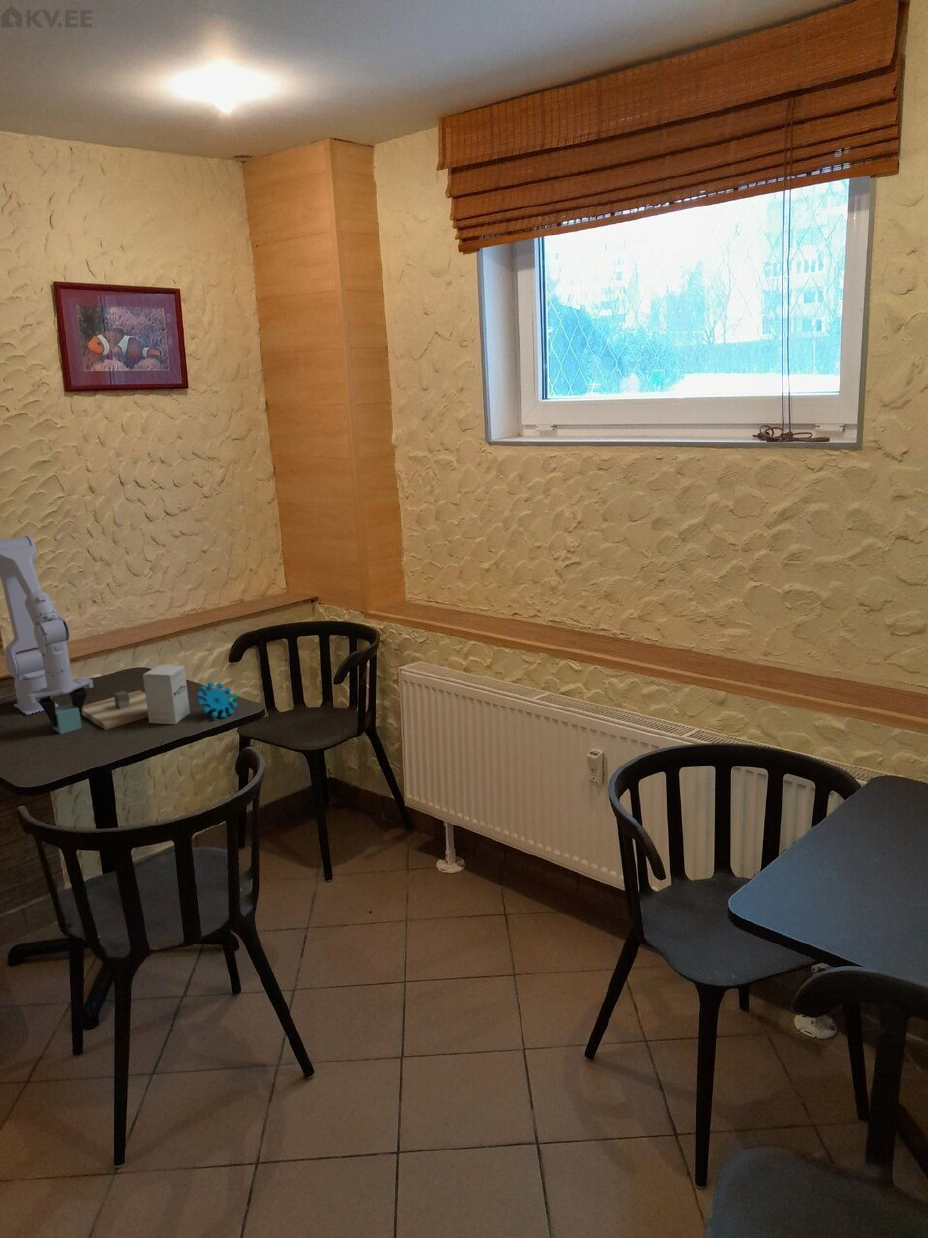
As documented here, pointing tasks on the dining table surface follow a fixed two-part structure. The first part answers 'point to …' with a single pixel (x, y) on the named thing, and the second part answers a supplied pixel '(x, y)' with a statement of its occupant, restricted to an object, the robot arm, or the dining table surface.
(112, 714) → the post board
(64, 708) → the mint green cube
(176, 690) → the supplement box
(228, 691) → the gear
